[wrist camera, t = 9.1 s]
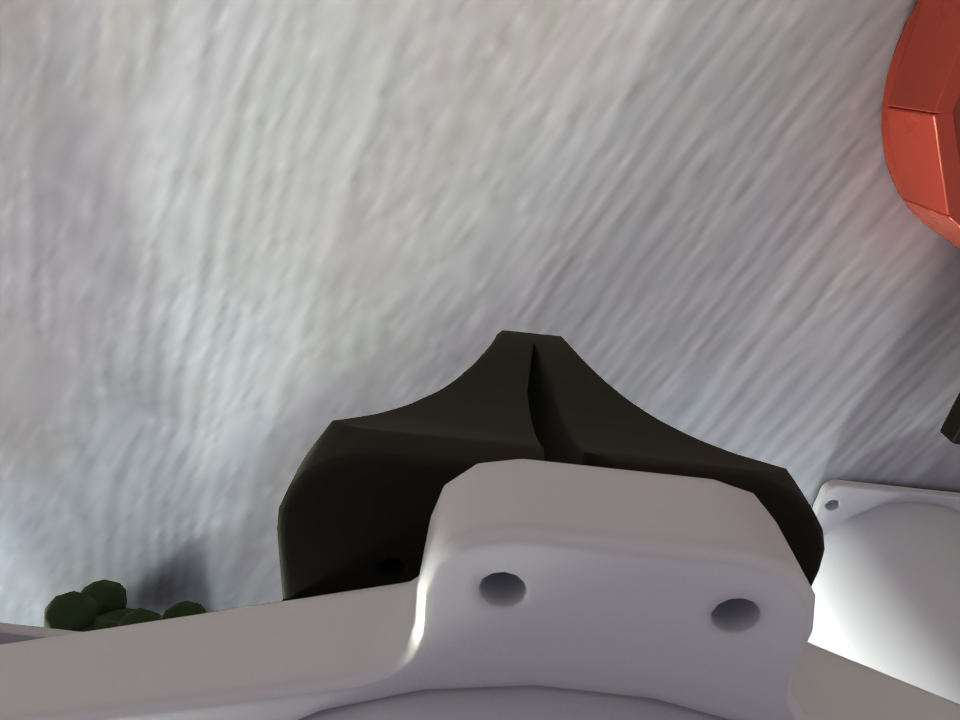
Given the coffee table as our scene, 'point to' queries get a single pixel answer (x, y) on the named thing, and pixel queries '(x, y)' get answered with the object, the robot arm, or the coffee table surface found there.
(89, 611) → the toy figurine
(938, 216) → the pan
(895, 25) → the coffee table surface
